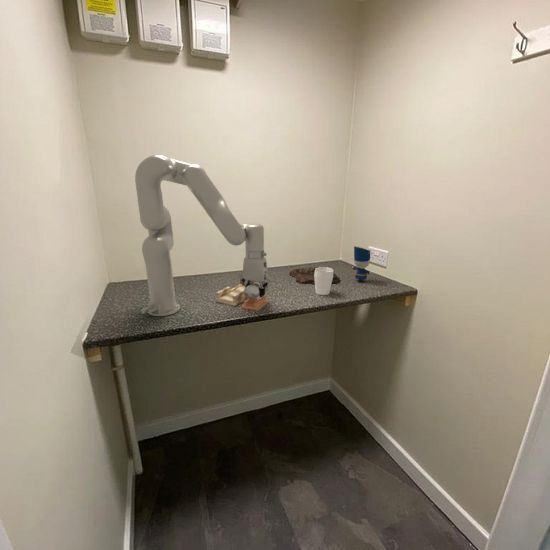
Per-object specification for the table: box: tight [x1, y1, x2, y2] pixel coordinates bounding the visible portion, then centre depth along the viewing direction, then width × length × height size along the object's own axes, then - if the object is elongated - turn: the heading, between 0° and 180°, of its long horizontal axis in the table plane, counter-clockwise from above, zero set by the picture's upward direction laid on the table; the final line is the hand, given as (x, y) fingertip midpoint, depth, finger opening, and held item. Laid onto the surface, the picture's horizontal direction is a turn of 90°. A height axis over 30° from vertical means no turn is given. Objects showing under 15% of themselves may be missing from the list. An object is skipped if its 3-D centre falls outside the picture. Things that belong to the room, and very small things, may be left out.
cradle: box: [241, 295, 270, 312], centre depth 124 cm, size 10×8×3 cm
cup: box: [314, 266, 334, 296], centre depth 138 cm, size 9×9×12 cm
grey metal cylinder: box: [244, 281, 269, 300], centre depth 123 cm, size 10×6×6 cm, turn 152°
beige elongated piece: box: [215, 278, 256, 307], centre depth 133 cm, size 21×10×5 cm, turn 154°
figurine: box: [352, 246, 372, 282], centre depth 153 cm, size 13×9×20 cm
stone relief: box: [288, 266, 341, 286], centre depth 162 cm, size 26×4×30 cm
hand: (255, 294), depth 123 cm, fingers closed on grey metal cylinder, 6 cm apart
